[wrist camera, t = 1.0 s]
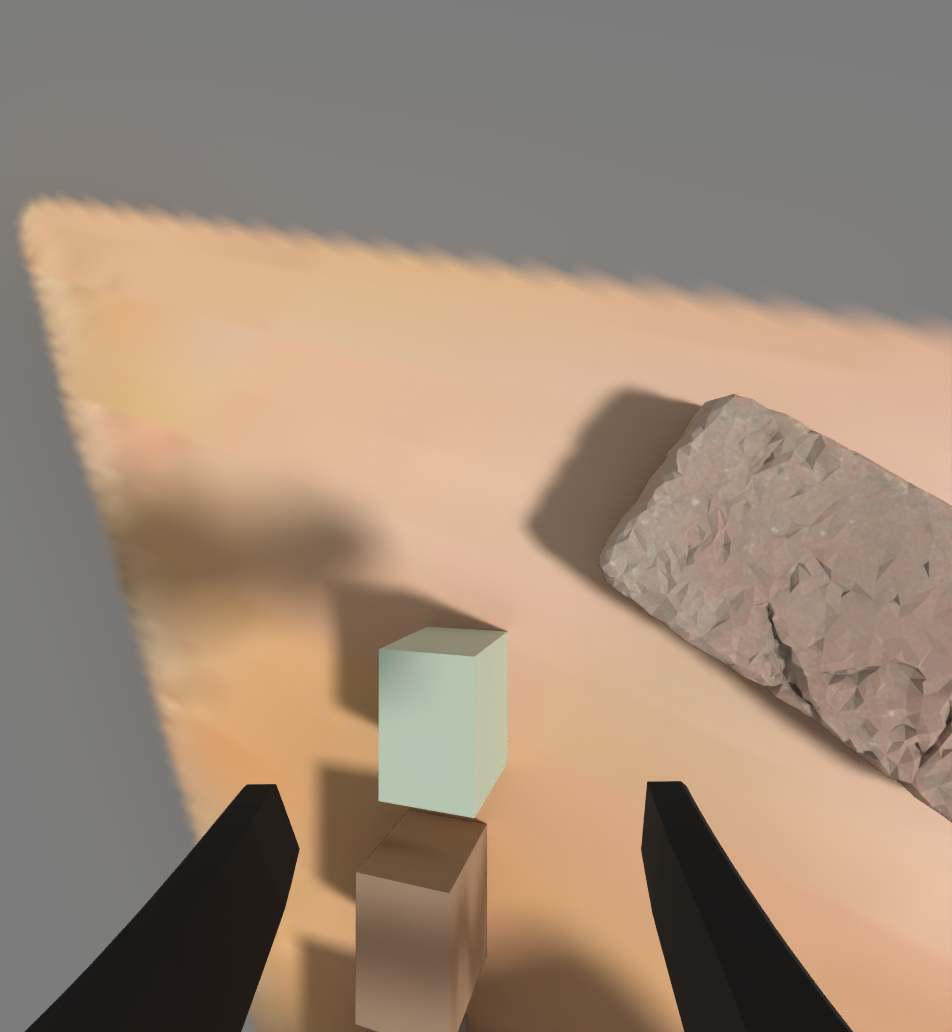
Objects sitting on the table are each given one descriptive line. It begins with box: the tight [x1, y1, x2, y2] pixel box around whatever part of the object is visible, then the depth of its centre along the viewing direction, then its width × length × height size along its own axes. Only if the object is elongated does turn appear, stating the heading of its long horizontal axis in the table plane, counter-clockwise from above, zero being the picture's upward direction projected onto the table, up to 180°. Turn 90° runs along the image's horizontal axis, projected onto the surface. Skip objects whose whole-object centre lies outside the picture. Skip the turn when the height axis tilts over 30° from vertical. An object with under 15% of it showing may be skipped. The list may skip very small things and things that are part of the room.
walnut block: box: [355, 810, 487, 1032], centre depth 23 cm, size 6×4×5 cm, turn 0°
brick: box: [599, 394, 952, 822], centre depth 19 cm, size 16×8×5 cm, turn 57°
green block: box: [379, 626, 508, 818], centre depth 23 cm, size 6×4×5 cm, turn 0°
